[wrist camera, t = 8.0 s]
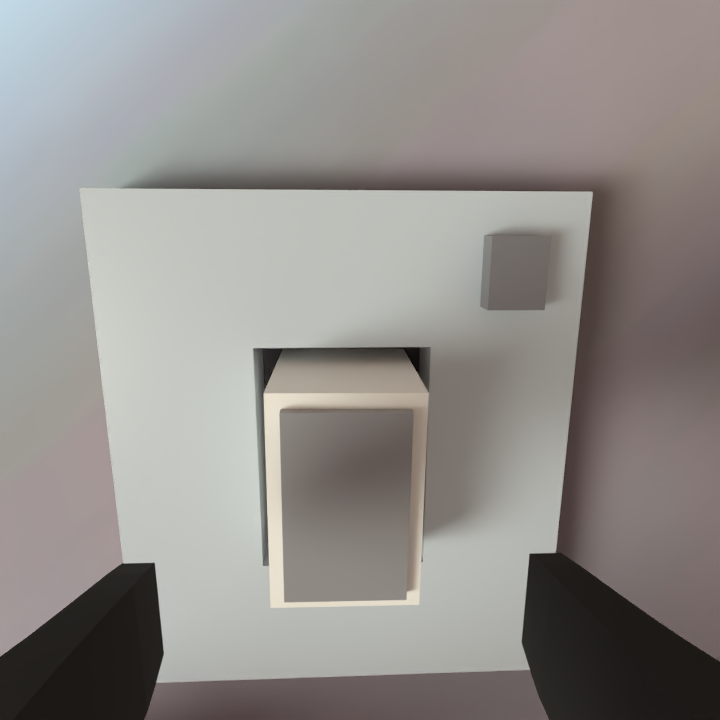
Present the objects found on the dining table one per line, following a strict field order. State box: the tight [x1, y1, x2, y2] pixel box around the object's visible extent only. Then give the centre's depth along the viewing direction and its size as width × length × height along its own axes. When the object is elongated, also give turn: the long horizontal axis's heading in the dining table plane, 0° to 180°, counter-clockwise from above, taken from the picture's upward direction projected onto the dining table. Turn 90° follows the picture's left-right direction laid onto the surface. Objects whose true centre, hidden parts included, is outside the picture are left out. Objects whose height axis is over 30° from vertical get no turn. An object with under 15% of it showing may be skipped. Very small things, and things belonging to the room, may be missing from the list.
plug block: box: [263, 349, 429, 608], centre depth 16 cm, size 6×4×5 cm, turn 179°
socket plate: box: [79, 188, 593, 683], centre depth 17 cm, size 16×14×3 cm
